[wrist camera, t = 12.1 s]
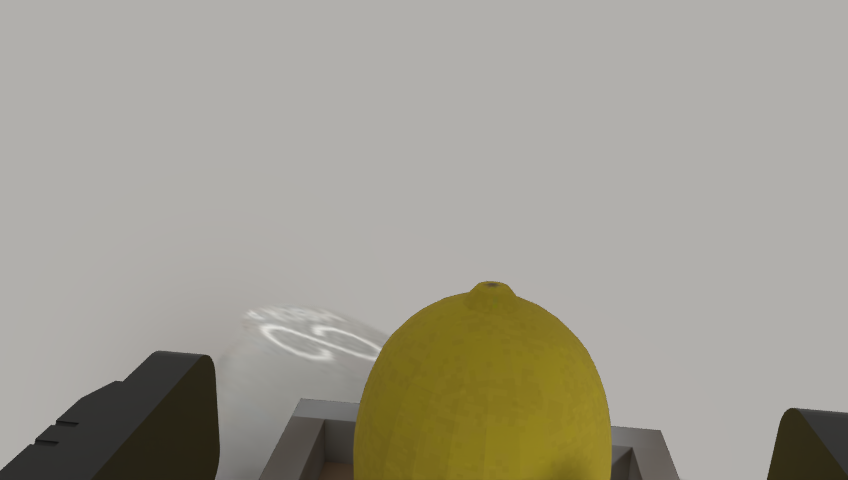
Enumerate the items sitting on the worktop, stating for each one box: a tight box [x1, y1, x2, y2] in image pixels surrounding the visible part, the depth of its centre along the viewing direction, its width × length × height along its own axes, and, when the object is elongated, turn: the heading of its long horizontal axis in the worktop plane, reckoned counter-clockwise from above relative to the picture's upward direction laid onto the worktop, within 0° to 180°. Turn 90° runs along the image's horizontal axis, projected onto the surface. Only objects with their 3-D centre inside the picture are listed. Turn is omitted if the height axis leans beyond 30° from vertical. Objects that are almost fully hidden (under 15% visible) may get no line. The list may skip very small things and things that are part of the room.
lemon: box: [353, 281, 612, 480], centre depth 15 cm, size 6×6×8 cm
